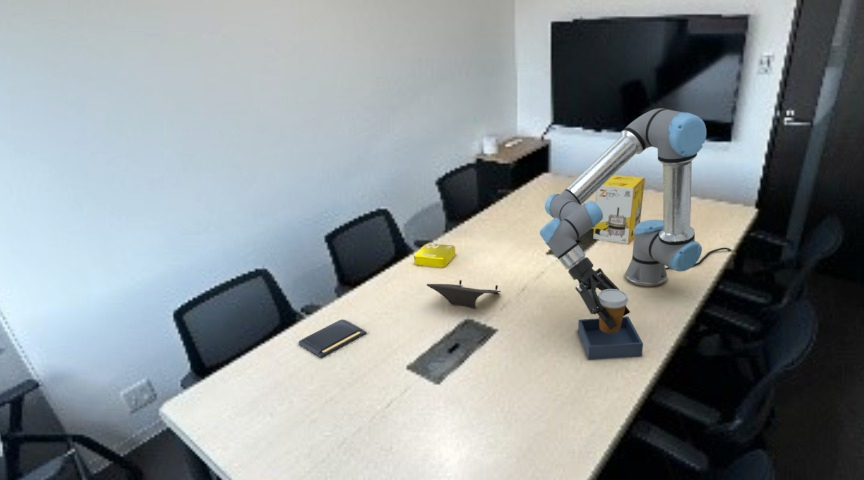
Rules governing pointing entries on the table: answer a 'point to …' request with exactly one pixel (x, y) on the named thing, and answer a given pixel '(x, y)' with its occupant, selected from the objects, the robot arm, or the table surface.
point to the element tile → (434, 255)
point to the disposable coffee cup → (613, 307)
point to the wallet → (331, 338)
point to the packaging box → (619, 208)
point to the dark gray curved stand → (461, 293)
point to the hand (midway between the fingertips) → (620, 320)
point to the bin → (609, 340)
